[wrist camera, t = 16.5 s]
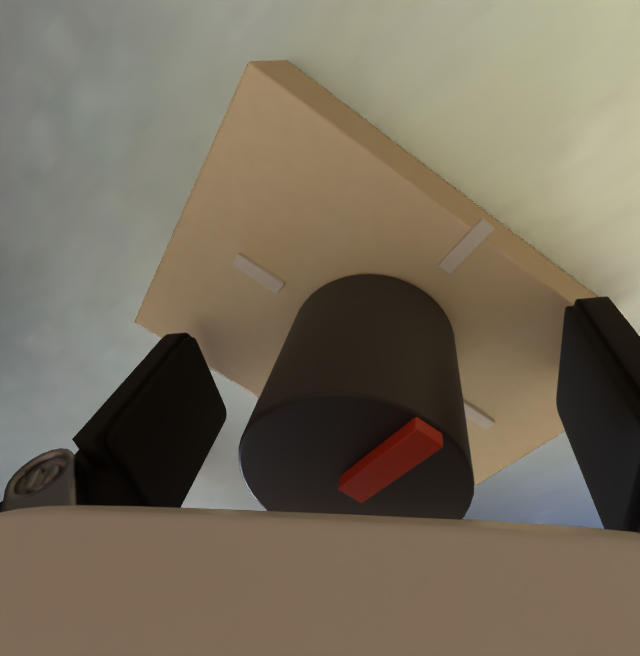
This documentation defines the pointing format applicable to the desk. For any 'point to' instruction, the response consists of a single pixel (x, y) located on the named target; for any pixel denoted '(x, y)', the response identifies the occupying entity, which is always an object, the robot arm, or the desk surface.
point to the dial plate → (356, 256)
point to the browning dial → (363, 409)
